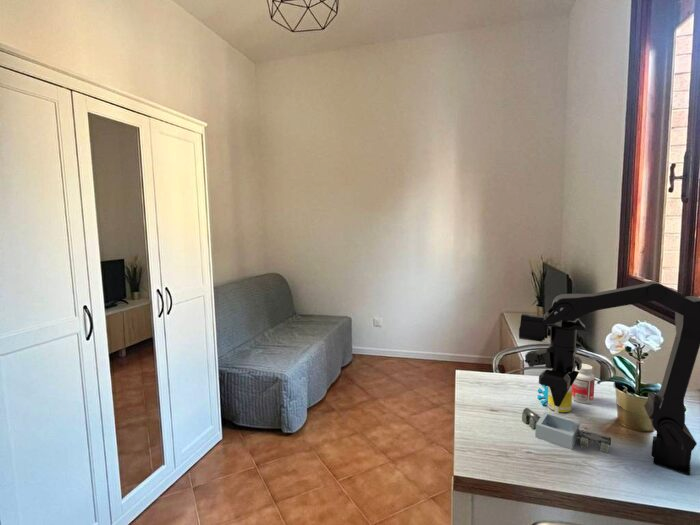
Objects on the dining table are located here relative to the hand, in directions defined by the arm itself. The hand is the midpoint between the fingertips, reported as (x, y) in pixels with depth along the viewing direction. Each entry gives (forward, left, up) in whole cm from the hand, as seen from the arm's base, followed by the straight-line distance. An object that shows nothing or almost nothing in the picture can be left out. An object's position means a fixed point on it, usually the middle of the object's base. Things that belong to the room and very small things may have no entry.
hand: (559, 401), depth 98 cm
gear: (+5, -17, -10) cm, 21 cm away
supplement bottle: (0, 0, -3) cm, 3 cm away
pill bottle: (-1, -27, -10) cm, 29 cm away
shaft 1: (+7, -2, -10) cm, 12 cm away
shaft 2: (-8, -1, -10) cm, 12 cm away
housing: (0, 0, -10) cm, 10 cm away
